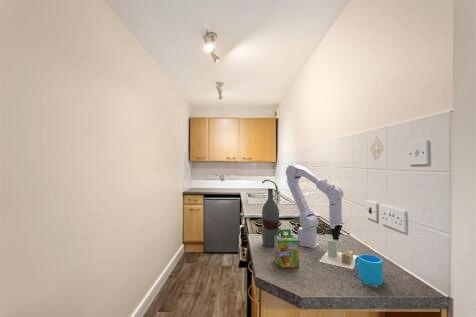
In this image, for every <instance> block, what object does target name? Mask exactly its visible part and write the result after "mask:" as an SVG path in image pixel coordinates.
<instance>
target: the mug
mask: <svg viewBox="0 0 476 317" xmlns="http://www.w3.org/2000/svg"><path fill="white" fill-rule="evenodd" d="M357 256H358V257H356V259H355V268H356V270H357V271H358V278H359V280H360V281H361V283H364V284H366V285H369V286H376V287H377V286H381V285H383V283H384V261H383V260H384V259H382V258H381V257H380V256H377V255H373V254H359V255H357Z"/></svg>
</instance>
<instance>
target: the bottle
mask: <svg viewBox="0 0 476 317" xmlns="http://www.w3.org/2000/svg"><path fill="white" fill-rule="evenodd" d="M279 210H280V209H279V206H278V205H277V203H276V201H275V200H274V189H273V188H268V189H267V200H266V201H265V203H264V204H263V206H262V210H261V218H262V234H261V240H262V244H263V245H264V246H265V247H268V248H269V247H270V248H271V247H272V248H274V235H280V231H279V219H280V211H279Z"/></svg>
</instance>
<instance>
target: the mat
mask: <svg viewBox="0 0 476 317" xmlns="http://www.w3.org/2000/svg"><path fill="white" fill-rule="evenodd" d="M342 253H343V252H340V251H338V255H337V257H332V256H328V250H327V251H326V252H325V253H324V255H322V257H320V259H319V260H318V262H319V263H324V264H329V265H332V266H337V267H342V268H345V269H349V270H354V268H355V267H356V265H355V259H356V257H358V256H359V255H355V254H353V261H352V263H351V265H350V264H345V263H342V258H341V254H342Z"/></svg>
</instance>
